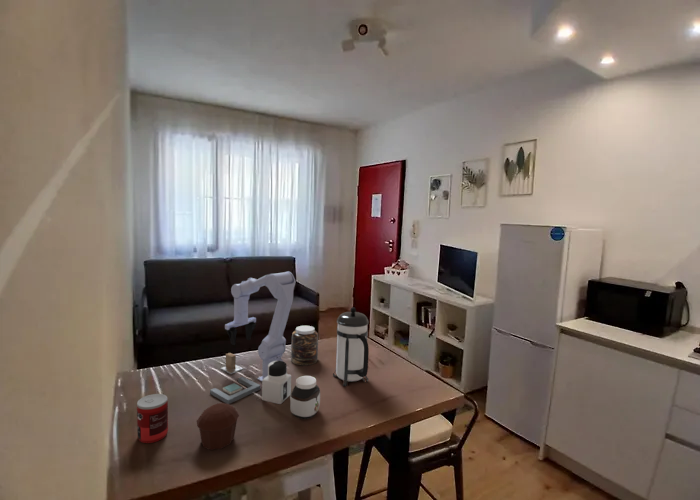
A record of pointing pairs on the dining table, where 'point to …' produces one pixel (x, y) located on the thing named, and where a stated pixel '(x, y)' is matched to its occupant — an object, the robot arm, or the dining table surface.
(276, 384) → the container
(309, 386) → the spread jar
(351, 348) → the coffee press
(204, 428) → the muffin
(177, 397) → the dining table surface
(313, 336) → the jar
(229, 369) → the trowel
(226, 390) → the tile
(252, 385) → the tile frame
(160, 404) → the canned food
